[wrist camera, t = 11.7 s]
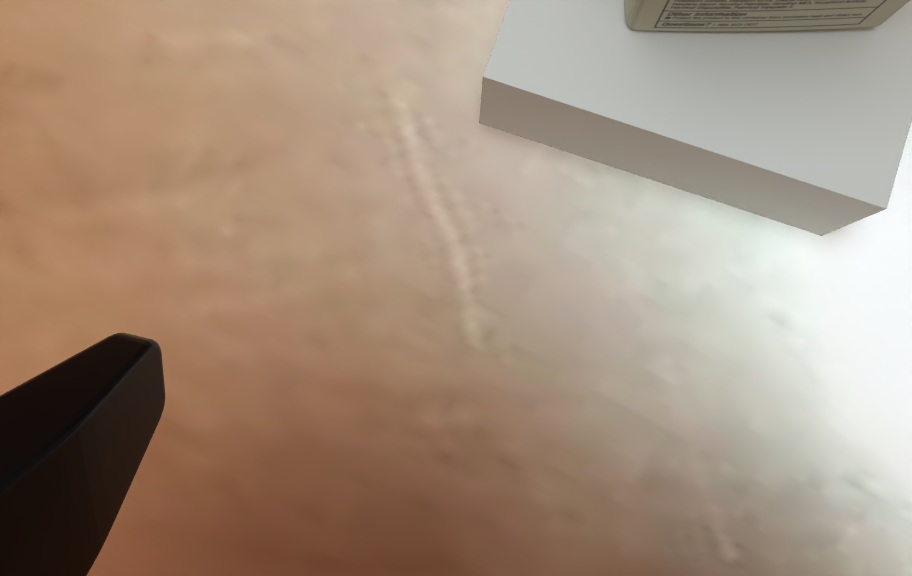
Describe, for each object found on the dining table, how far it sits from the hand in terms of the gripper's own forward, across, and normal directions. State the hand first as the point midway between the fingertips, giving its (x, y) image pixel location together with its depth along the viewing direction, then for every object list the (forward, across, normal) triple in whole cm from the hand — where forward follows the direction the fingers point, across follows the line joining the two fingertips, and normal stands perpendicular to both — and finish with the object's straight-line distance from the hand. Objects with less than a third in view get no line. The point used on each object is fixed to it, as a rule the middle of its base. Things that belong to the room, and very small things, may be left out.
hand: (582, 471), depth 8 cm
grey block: (+19, -3, +1) cm, 19 cm away
